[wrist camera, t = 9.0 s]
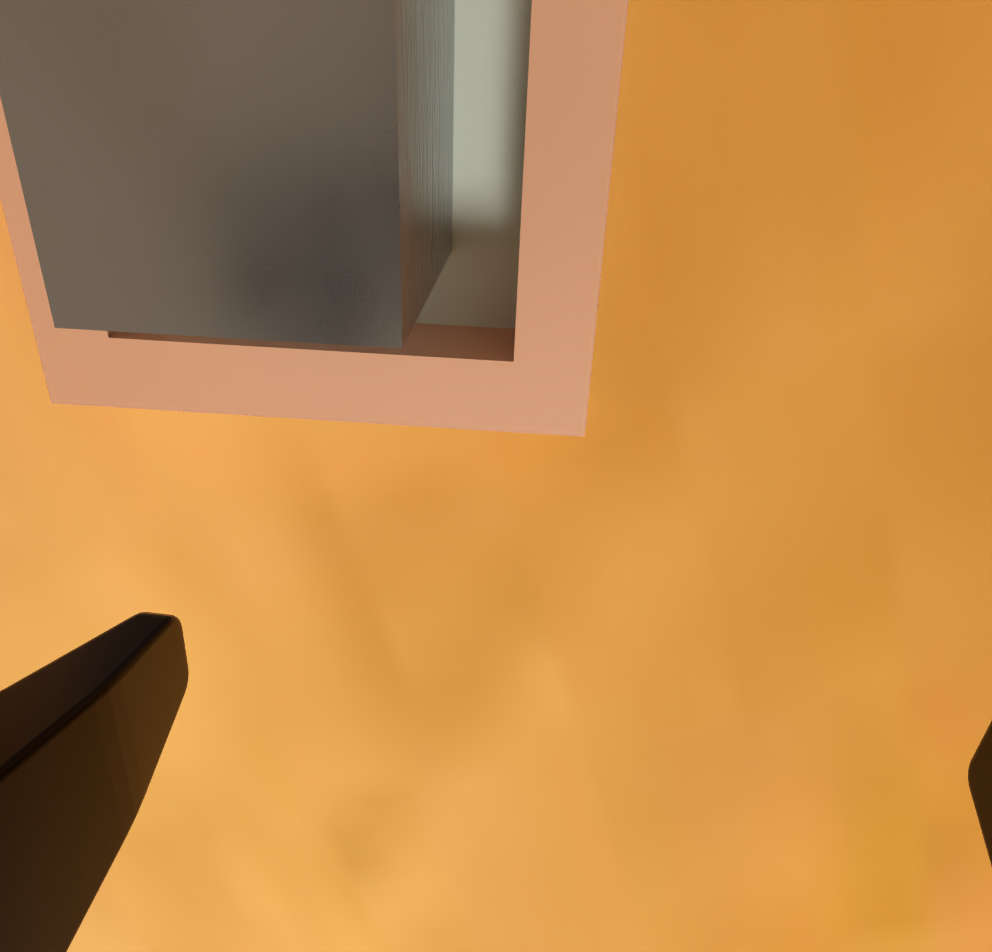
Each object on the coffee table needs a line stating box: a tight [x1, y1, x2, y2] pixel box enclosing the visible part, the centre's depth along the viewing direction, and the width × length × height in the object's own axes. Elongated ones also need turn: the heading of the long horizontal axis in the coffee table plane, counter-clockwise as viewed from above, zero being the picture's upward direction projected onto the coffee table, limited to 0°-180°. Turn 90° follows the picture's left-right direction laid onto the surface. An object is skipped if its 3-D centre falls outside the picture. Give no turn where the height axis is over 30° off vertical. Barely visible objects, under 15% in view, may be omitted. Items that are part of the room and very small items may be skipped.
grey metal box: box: [0, 0, 455, 348], centre depth 12 cm, size 5×6×6 cm
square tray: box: [0, 0, 628, 437], centre depth 15 cm, size 11×12×3 cm
